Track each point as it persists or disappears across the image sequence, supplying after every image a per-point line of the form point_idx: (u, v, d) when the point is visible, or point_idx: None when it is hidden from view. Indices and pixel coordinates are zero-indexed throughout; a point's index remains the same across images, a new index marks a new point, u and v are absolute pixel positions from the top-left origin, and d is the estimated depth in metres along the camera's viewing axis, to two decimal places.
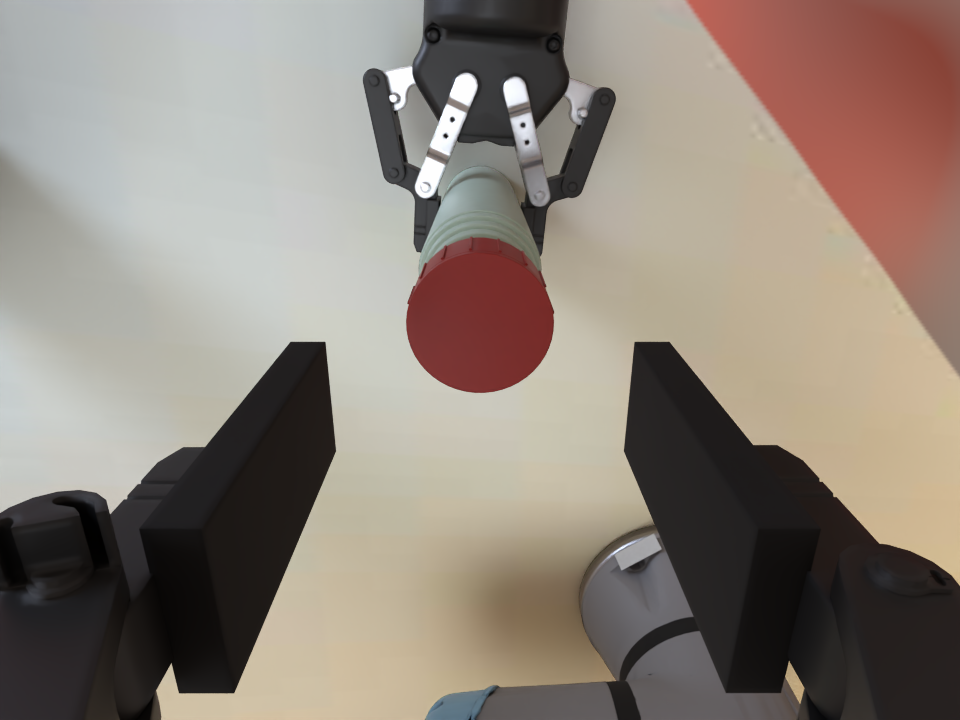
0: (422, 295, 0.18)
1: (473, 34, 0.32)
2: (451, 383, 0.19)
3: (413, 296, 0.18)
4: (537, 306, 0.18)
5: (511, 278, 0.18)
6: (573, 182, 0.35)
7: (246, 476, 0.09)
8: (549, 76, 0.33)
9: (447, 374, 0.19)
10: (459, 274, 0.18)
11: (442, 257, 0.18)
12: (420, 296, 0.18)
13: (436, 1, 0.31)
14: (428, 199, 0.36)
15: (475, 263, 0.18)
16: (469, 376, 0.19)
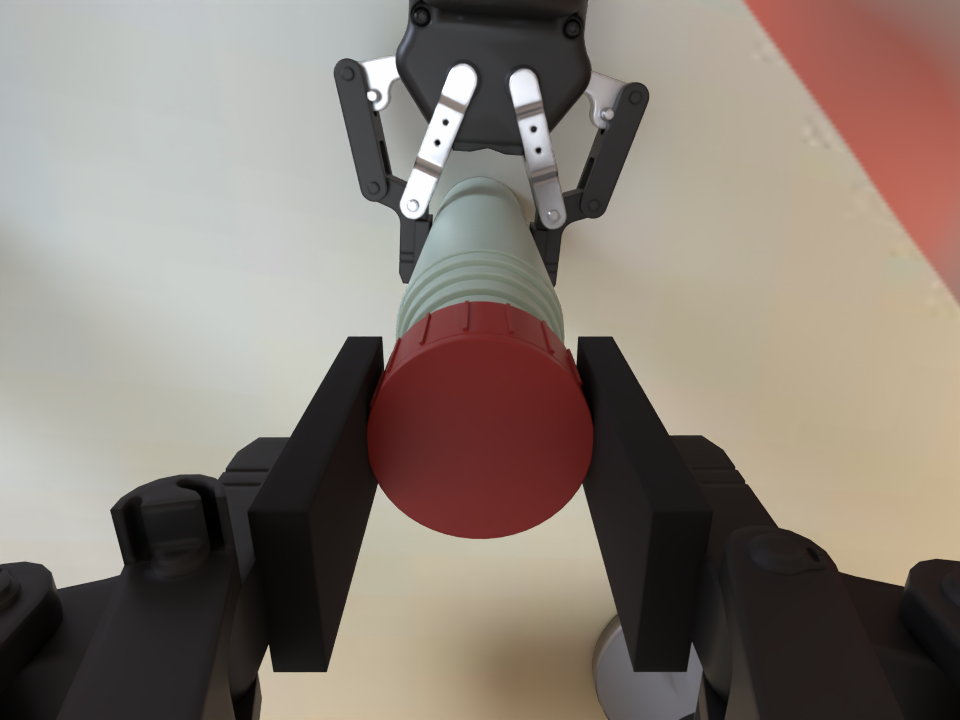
0: (390, 401, 0.12)
1: (471, 14, 0.26)
2: (437, 526, 0.13)
3: (376, 402, 0.12)
4: (569, 417, 0.12)
5: (529, 376, 0.12)
6: (595, 200, 0.28)
7: (333, 464, 0.09)
8: (566, 68, 0.27)
9: (430, 513, 0.13)
10: (447, 370, 0.12)
11: (421, 341, 0.12)
12: (387, 402, 0.12)
13: None
14: (416, 220, 0.29)
15: (473, 354, 0.11)
16: (464, 516, 0.13)
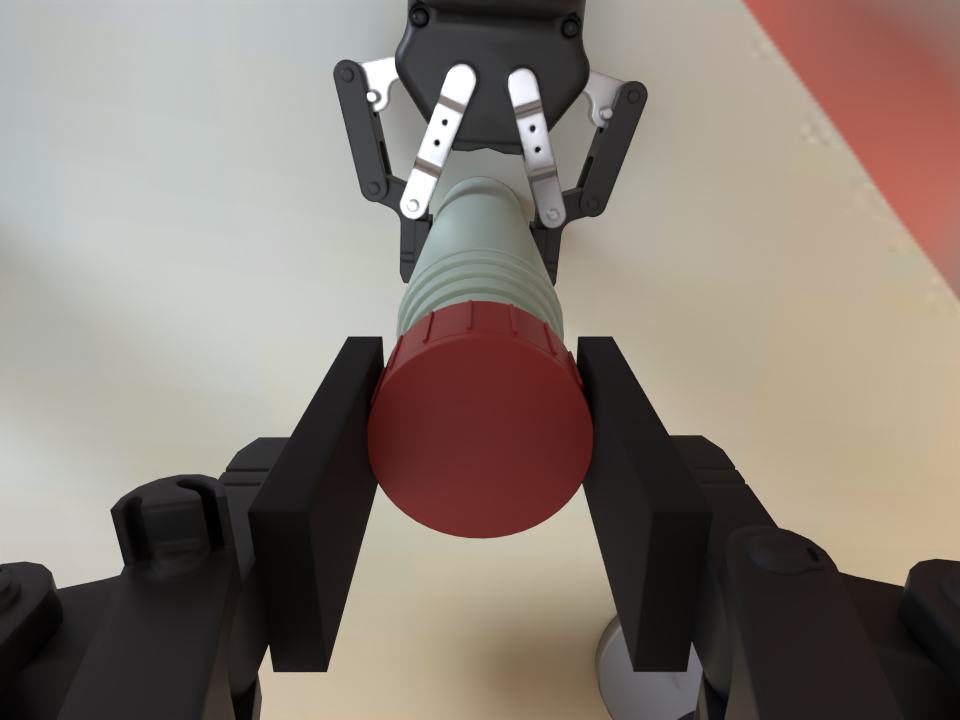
0: (465, 527, 0.13)
1: (469, 15, 0.26)
2: (586, 452, 0.12)
3: (471, 536, 0.13)
4: (416, 380, 0.12)
5: (391, 429, 0.12)
6: (595, 198, 0.29)
7: (334, 464, 0.09)
8: (565, 68, 0.27)
9: (573, 462, 0.12)
10: (416, 494, 0.13)
11: None
12: (468, 528, 0.13)
13: None
14: (417, 220, 0.29)
15: (392, 480, 0.12)
16: (566, 432, 0.12)
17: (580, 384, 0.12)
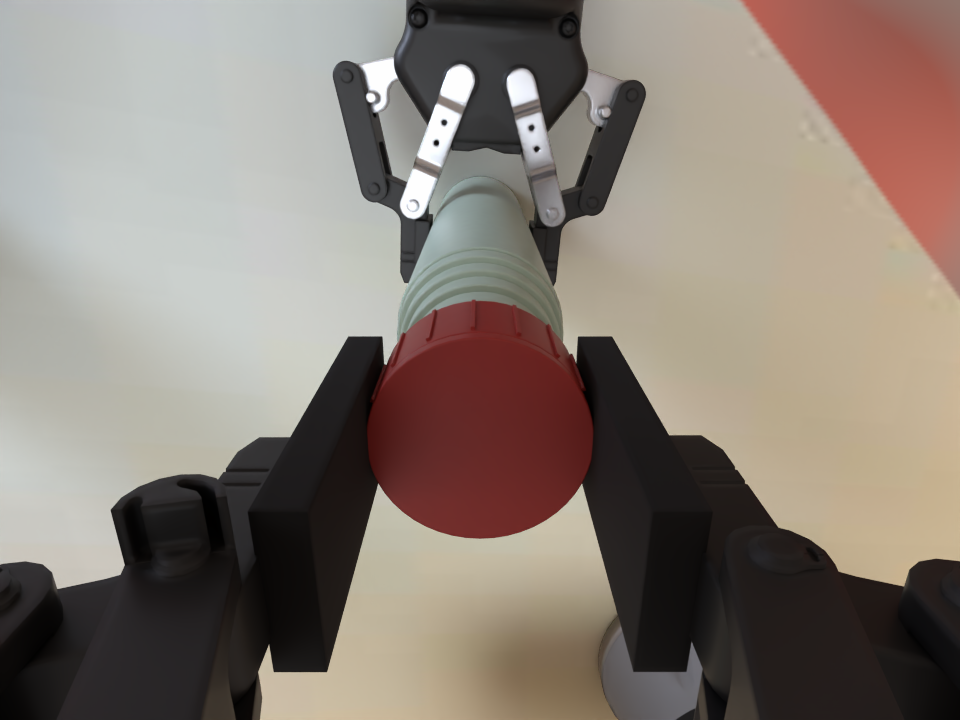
0: (579, 426, 0.12)
1: (468, 15, 0.26)
2: (447, 348, 0.11)
3: (589, 417, 0.12)
4: (437, 514, 0.13)
5: (493, 518, 0.13)
6: (594, 197, 0.29)
7: (333, 464, 0.09)
8: (563, 67, 0.27)
9: (464, 356, 0.11)
10: (555, 480, 0.12)
11: None
12: (580, 423, 0.12)
13: None
14: (417, 220, 0.29)
15: (547, 504, 0.13)
16: (434, 376, 0.12)
17: (391, 367, 0.12)
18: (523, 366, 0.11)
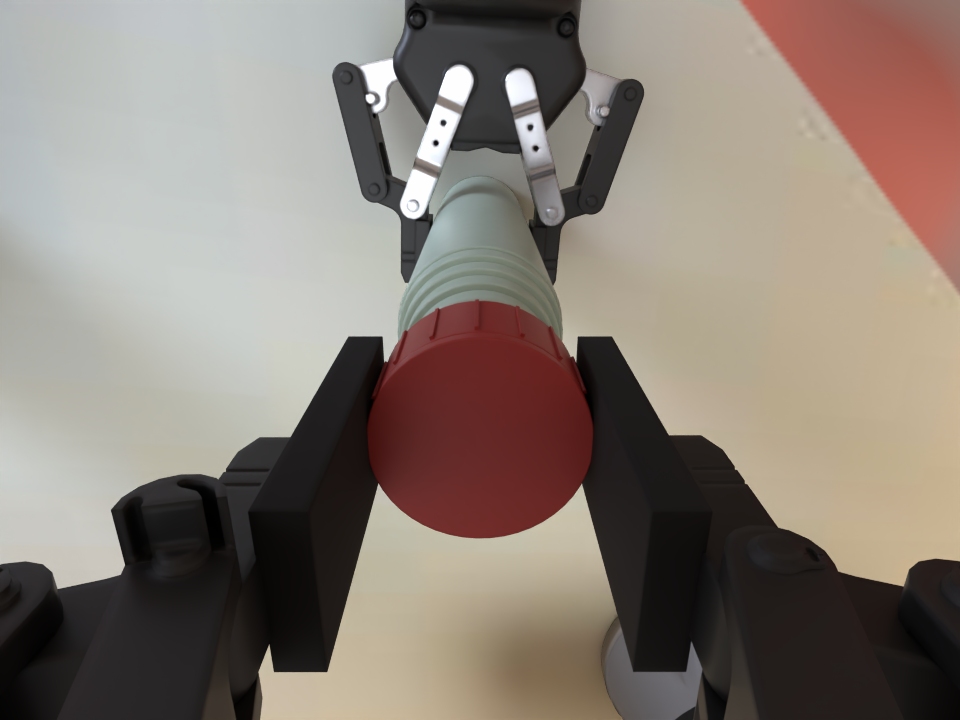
0: (423, 367, 0.12)
1: (466, 16, 0.26)
2: (397, 500, 0.13)
3: (409, 362, 0.11)
4: (572, 456, 0.12)
5: (559, 405, 0.12)
6: (593, 196, 0.29)
7: (334, 464, 0.09)
8: (561, 66, 0.27)
9: (398, 485, 0.12)
10: (492, 365, 0.11)
11: (477, 326, 0.12)
12: (419, 366, 0.12)
13: None
14: (417, 220, 0.30)
15: (522, 361, 0.11)
16: (427, 501, 0.13)
17: None
18: (385, 438, 0.12)
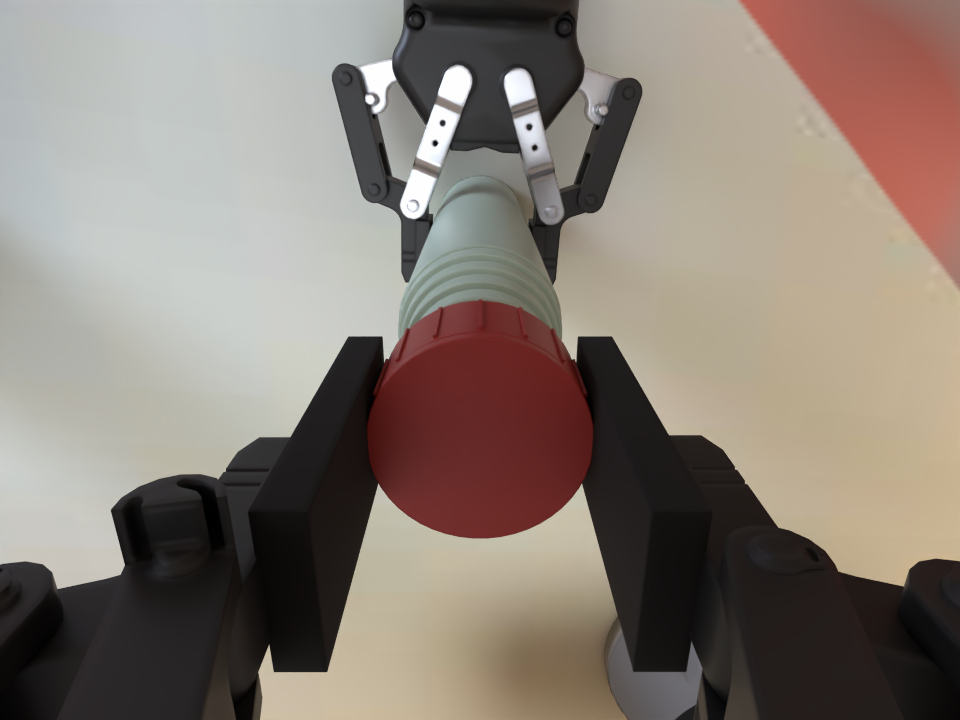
0: (423, 512, 0.13)
1: (465, 16, 0.26)
2: (568, 493, 0.13)
3: (423, 523, 0.13)
4: (458, 360, 0.11)
5: (408, 393, 0.12)
6: (593, 195, 0.29)
7: (334, 463, 0.09)
8: (560, 66, 0.27)
9: (551, 497, 0.13)
10: (396, 462, 0.12)
11: None
12: (424, 514, 0.13)
13: None
14: (417, 220, 0.30)
15: (381, 440, 0.12)
16: (560, 468, 0.12)
17: None
18: (504, 521, 0.13)
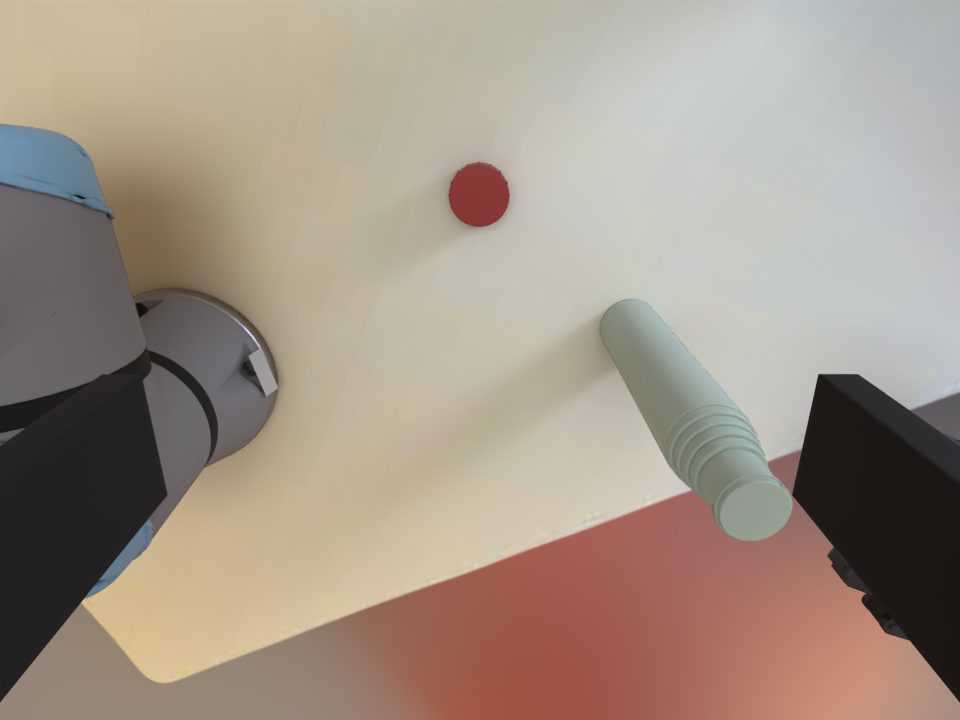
0: (463, 217, 0.47)
1: None
2: (502, 211, 0.47)
3: (463, 221, 0.47)
4: (473, 171, 0.45)
5: (460, 181, 0.46)
6: (897, 628, 0.39)
7: None
8: None
9: (498, 213, 0.47)
10: (456, 201, 0.46)
11: (451, 207, 0.47)
12: (464, 218, 0.47)
13: None
14: None
15: (453, 194, 0.46)
16: (500, 203, 0.46)
17: (509, 195, 0.47)
18: (485, 220, 0.47)
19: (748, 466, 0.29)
